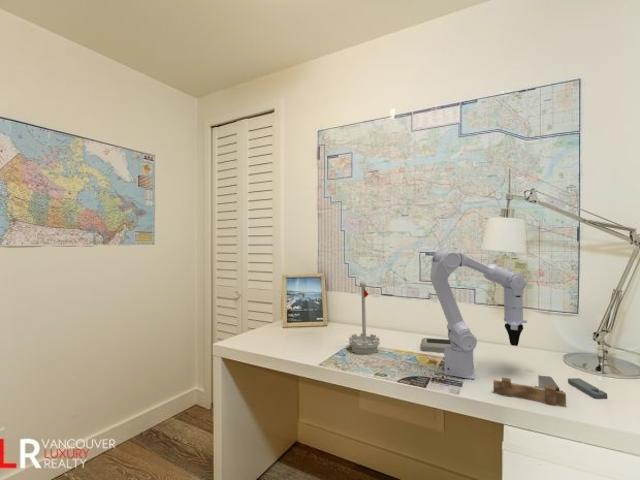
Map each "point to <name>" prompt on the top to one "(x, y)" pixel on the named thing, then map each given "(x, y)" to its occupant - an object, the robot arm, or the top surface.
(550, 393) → the brown wooden bar
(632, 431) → the top surface
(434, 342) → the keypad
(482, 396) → the top surface
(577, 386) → the bracket
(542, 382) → the block
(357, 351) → the flag stand
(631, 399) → the top surface
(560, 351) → the top surface
